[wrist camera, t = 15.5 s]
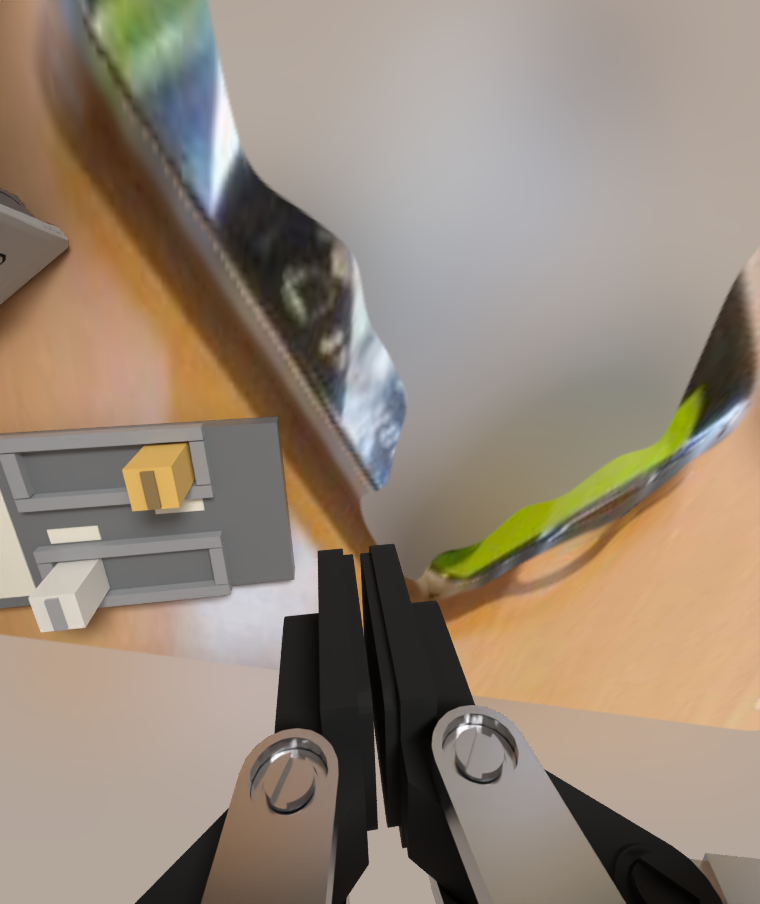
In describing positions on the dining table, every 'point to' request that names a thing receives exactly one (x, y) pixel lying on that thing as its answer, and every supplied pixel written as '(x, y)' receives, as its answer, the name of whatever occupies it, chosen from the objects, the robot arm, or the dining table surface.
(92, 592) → the white tab
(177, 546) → the switch board
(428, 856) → the robot arm
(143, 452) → the yellow block with tab
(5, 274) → the electrical switch
